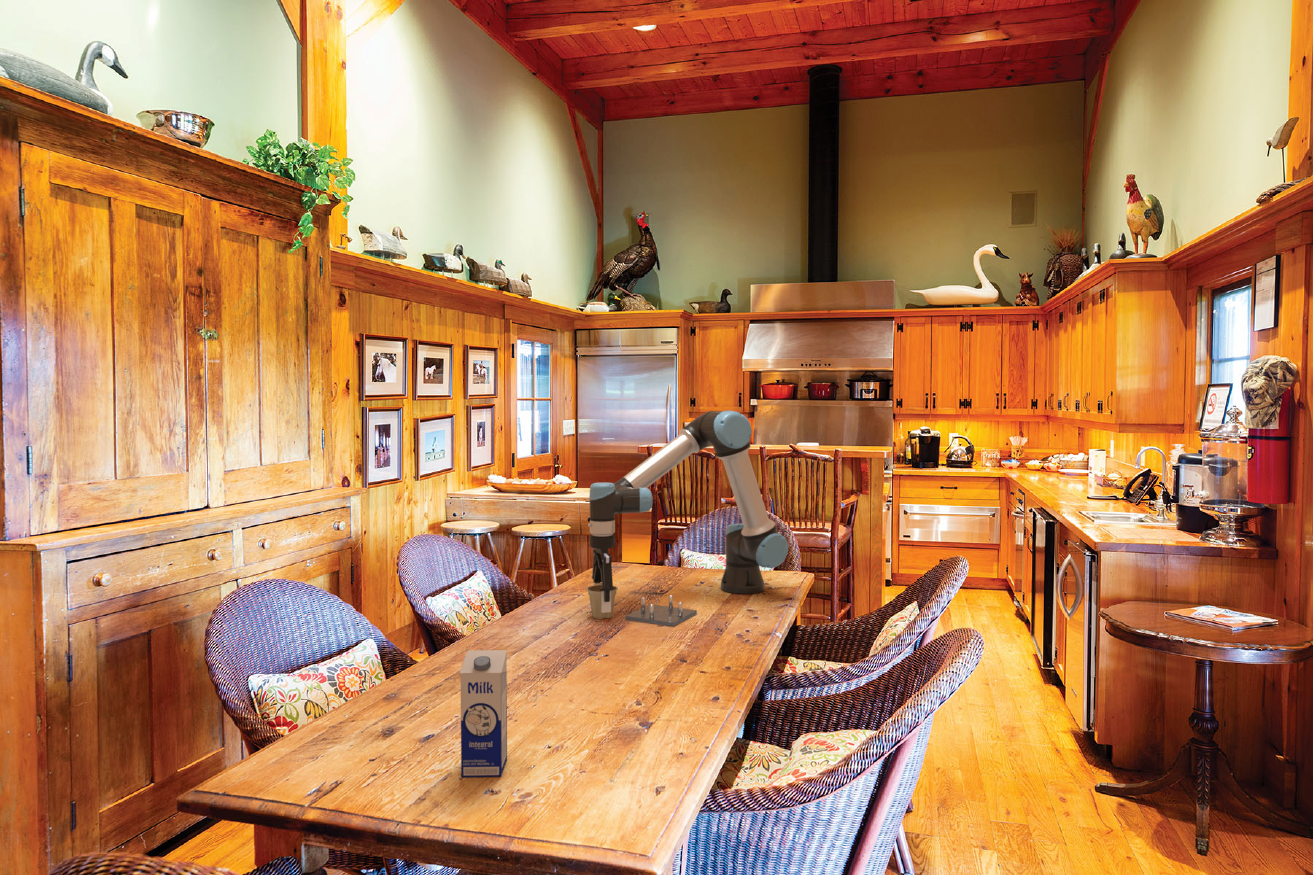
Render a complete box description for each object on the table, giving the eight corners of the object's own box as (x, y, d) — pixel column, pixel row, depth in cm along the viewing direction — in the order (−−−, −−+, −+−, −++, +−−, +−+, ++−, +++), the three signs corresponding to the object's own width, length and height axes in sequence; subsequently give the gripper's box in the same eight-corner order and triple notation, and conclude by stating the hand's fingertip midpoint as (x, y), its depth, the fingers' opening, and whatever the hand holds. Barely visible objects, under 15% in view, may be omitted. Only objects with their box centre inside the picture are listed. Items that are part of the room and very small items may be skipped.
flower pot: (616, 620, 235) (616, 591, 234) (585, 620, 235) (584, 591, 235) (618, 612, 244) (618, 584, 244) (588, 612, 244) (588, 584, 244)
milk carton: (508, 759, 142) (507, 648, 141) (502, 776, 135) (501, 660, 134) (468, 759, 142) (467, 649, 141) (460, 777, 135) (459, 661, 134)
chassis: (650, 607, 250) (650, 591, 250) (696, 614, 243) (696, 597, 242) (625, 619, 236) (625, 602, 236) (673, 626, 228) (673, 608, 228)
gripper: (582, 529, 248) (582, 600, 249) (598, 540, 227) (598, 618, 228) (605, 528, 250) (605, 598, 251) (623, 539, 229) (623, 616, 230)
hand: (602, 608), depth 239 cm, fingers closed on flower pot, 9 cm apart
